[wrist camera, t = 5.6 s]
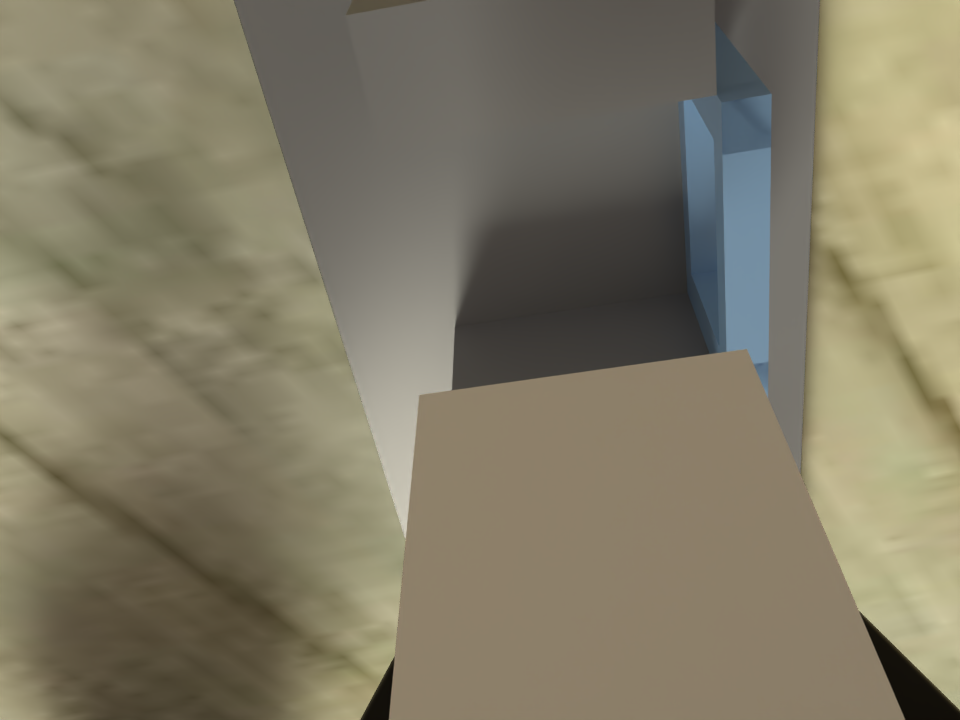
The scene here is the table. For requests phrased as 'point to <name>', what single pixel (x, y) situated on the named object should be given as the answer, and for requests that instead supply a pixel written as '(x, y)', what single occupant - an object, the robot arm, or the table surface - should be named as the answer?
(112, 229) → the table surface
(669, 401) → the grey boxy block piece
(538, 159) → the rail
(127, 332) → the table surface
